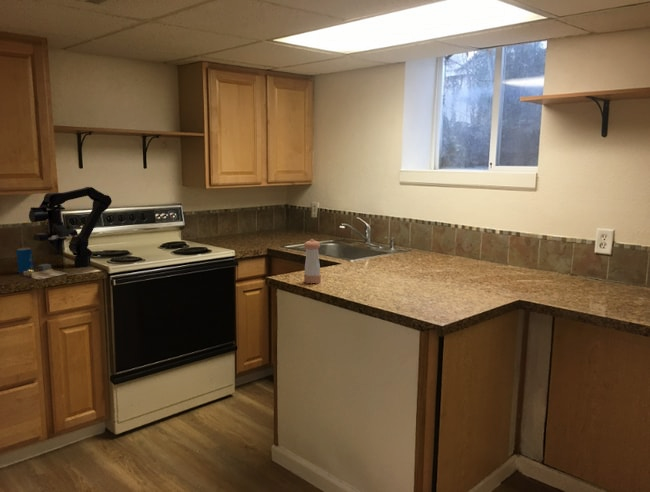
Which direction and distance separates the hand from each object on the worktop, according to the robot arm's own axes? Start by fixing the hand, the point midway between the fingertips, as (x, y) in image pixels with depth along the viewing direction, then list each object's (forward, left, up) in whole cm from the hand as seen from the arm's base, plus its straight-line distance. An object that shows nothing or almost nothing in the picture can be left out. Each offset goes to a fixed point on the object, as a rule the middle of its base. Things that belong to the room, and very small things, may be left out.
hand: (57, 252), depth 262 cm
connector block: (+7, 0, -9) cm, 11 cm away
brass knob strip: (+14, 0, -9) cm, 16 cm away
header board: (+8, +2, -10) cm, 13 cm away
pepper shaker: (-49, +112, -10) cm, 123 cm away
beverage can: (+10, -11, -10) cm, 18 cm away
